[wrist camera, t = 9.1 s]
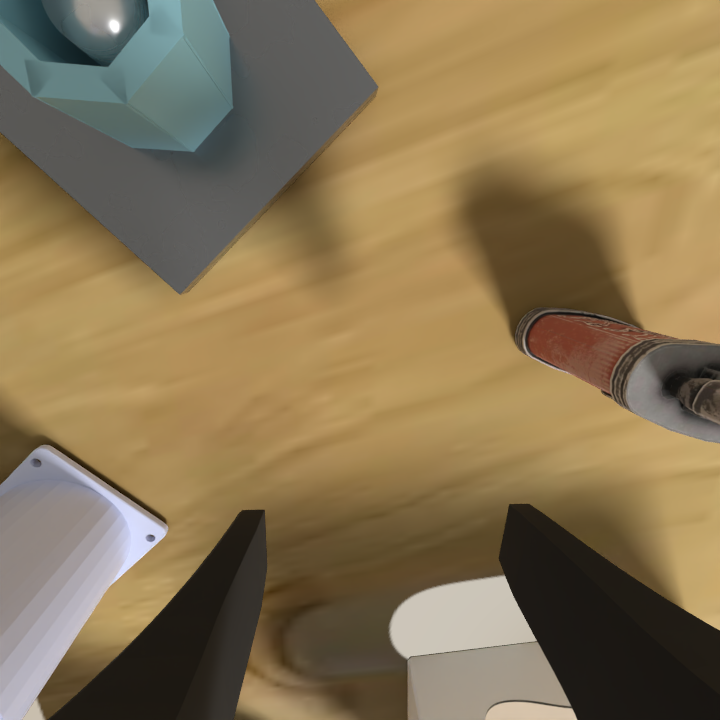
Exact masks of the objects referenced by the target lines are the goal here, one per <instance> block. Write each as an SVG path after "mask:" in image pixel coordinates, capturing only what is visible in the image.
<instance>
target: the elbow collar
mask: <svg viewBox="0 0 720 720" xmlns="http://www.w3.org/2000/svg"><path fill="white" fill-rule="evenodd" d="M148 9H149V17H148V18H147V20H146V21H145V22H144V23H143V25H142V26H141V27H140V28H139V30H138V31H137V32H136V33H135V34H134V36H133V37H132V38H131V39H130V41H129V42H128V43H127V44H126V46H125V47H124V48H123V49H122V51H121V52H120V53H119V54H118V56H117V57H116V58H115V59H114V60H113V62H112V63H111V64H110V65H109V67H102V66H99V64H98V63H97V62H96V61H95V60H93V59H92V58H91V57H90V56H88V55H87V54H86V53H85V52H83V51H82V50H81V49H80V48H78V47H77V46H76V45H75V44H73V43H72V42H71V41H70V40H68V39H67V38H66V37H65V36H64V35H63V34H61V33H60V32H59V30H58V29H57V28H56V27H55V26H54V24H53V23H52V22H51V20H50V19H49V17H48V15H47V13H46V11H45V9H44V7H43V4H42V1H41V0H0V65H1V66H2V67H3V68H4V69H5V70H6V71H7V72H8V73H9V74H10V75H11V76H12V77H14V78H15V79H16V80H17V81H18V82H19V83H20V84H21V85H22V86H23V87H24V88H25V89H26V90H27V91H28V92H29V93H30V94H31V96H32V97H34V98H36V99H38V100H40V101H42V102H44V103H46V104H48V105H50V106H51V107H53V108H55V109H57V110H59V111H61V112H63V113H65V114H67V115H69V116H71V117H73V118H75V119H77V120H79V121H81V122H83V123H85V124H87V125H89V126H91V127H93V128H95V129H96V130H98V131H100V132H102V133H104V134H106V135H108V136H110V137H112V138H114V139H116V140H118V141H120V142H122V143H124V144H126V145H128V146H130V147H132V148H145V149H160V150H174V151H189V152H195V150H196V149H197V147H198V146H199V145H200V144H201V143H202V142H203V141H204V140H205V139H206V137H207V136H208V135H209V134H210V133H211V132H212V131H213V130H214V128H215V127H216V126H217V125H218V124H219V123H220V122H221V121H222V119H223V118H224V117H225V116H226V115H227V114H228V113H229V112H230V110H231V109H233V99H232V81H231V62H230V44H229V37H230V36H229V33H228V31H227V29H226V27H225V25H224V23H223V20H222V18H221V16H220V14H219V12H218V10H217V8H216V5H215V3H214V1H213V0H148Z"/></svg>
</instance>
